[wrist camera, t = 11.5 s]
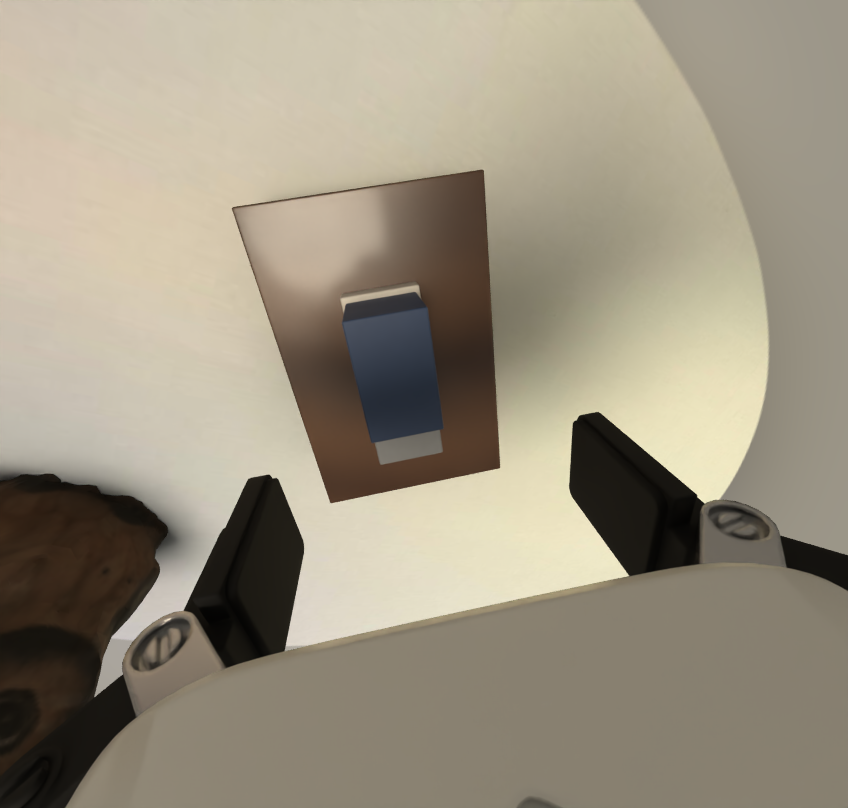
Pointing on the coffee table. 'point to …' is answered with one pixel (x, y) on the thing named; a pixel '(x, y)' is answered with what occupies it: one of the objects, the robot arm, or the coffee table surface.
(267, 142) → the coffee table surface
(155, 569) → the owl
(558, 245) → the coffee table surface
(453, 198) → the low brown table
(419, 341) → the stacked block assembly
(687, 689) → the robot arm
